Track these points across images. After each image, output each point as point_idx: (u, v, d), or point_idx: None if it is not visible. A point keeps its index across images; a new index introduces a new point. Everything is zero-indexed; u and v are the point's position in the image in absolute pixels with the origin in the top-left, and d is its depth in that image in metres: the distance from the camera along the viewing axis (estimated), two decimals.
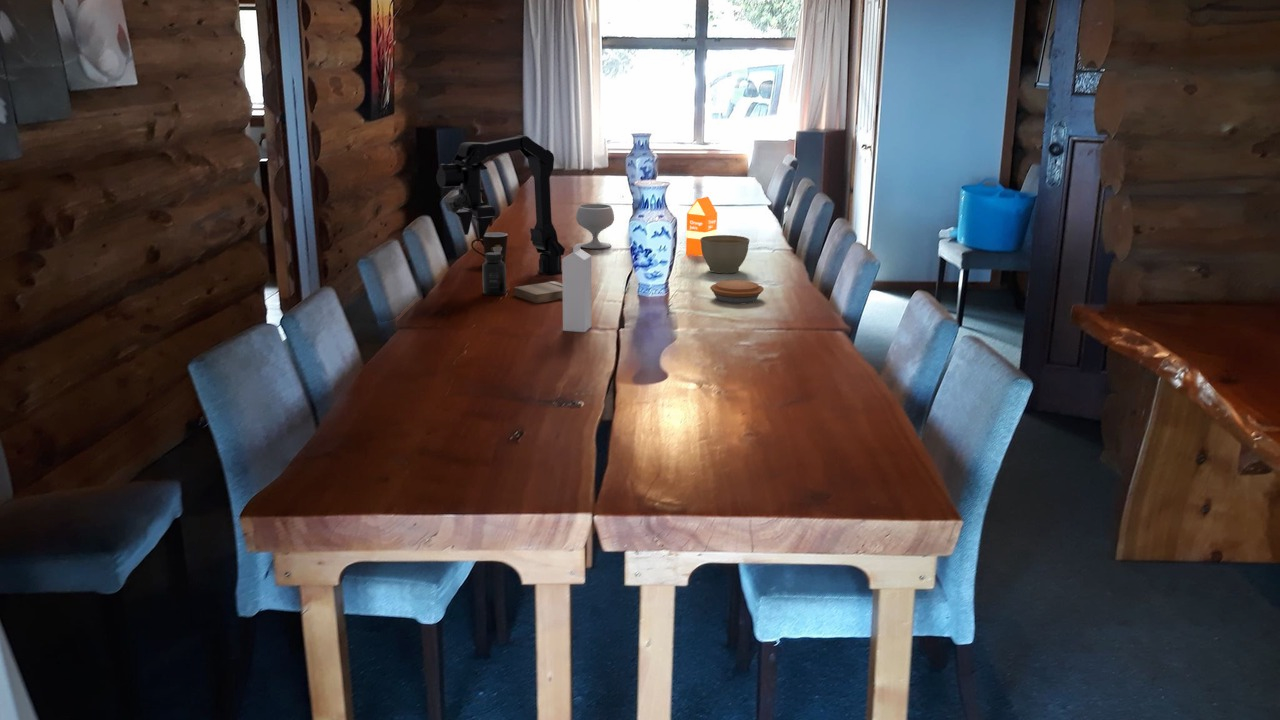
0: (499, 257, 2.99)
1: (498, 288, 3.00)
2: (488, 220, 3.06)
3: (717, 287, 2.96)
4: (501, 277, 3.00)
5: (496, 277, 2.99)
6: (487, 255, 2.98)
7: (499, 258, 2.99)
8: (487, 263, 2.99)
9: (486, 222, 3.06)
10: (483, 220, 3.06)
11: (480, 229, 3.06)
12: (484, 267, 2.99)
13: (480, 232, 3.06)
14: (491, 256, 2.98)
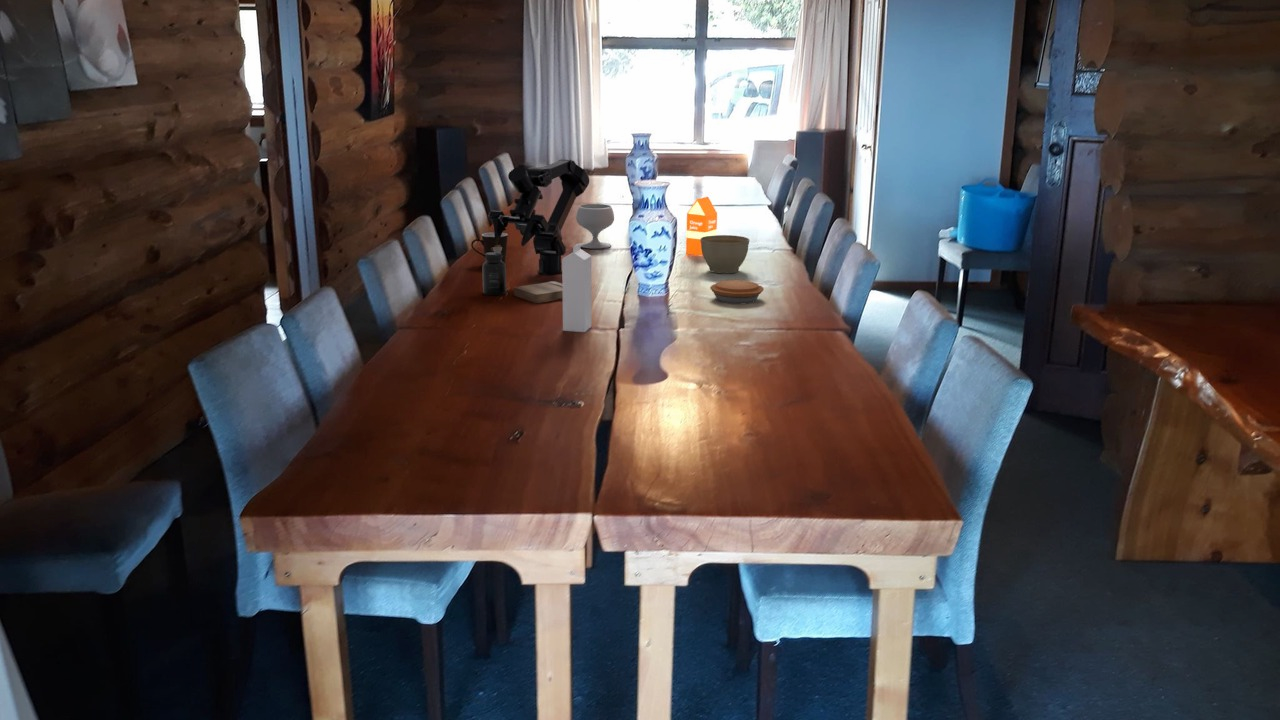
0: (499, 257, 2.99)
1: (498, 288, 3.00)
2: None
3: (717, 287, 2.96)
4: (501, 277, 3.00)
5: (496, 277, 2.99)
6: (487, 255, 2.98)
7: (499, 258, 2.99)
8: (487, 263, 2.99)
9: None
10: None
11: None
12: (484, 267, 2.99)
13: None
14: (491, 256, 2.98)
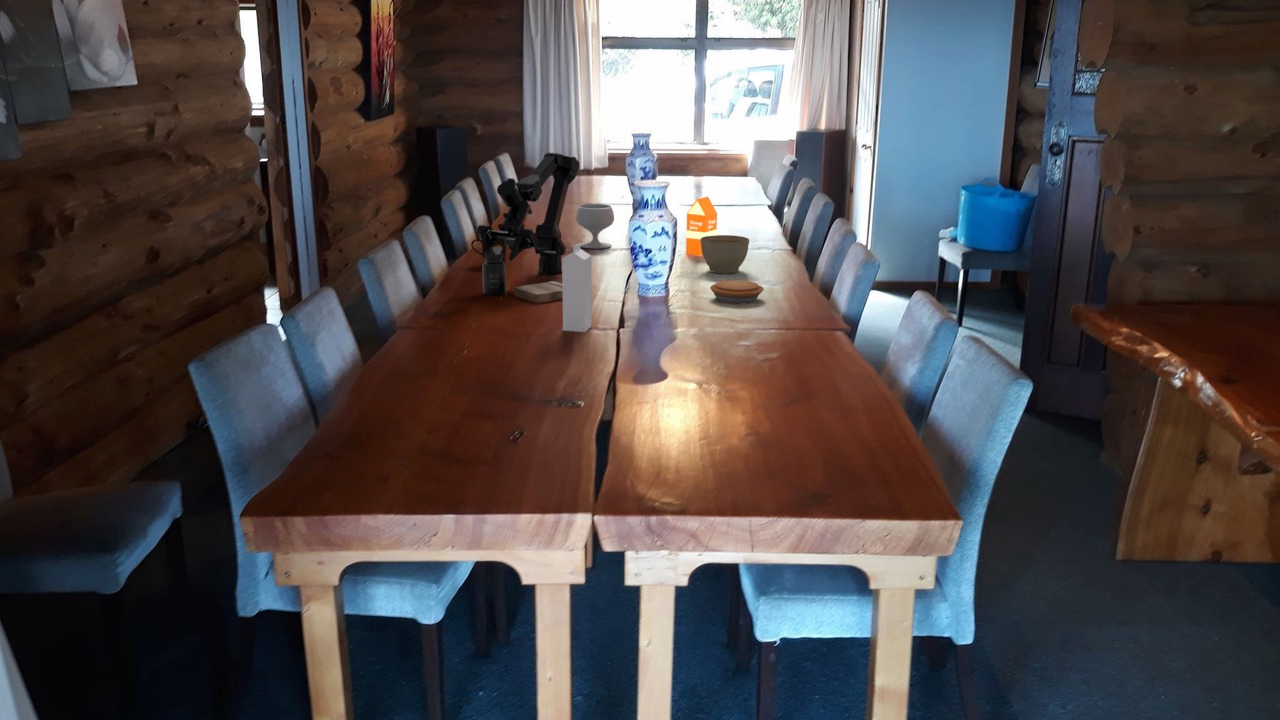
0: (499, 257, 2.99)
1: (498, 288, 3.00)
2: None
3: (717, 287, 2.96)
4: (501, 277, 3.00)
5: (496, 277, 2.99)
6: (487, 255, 2.98)
7: (499, 258, 2.99)
8: (487, 263, 2.99)
9: None
10: None
11: None
12: (484, 267, 2.99)
13: None
14: (491, 256, 2.98)
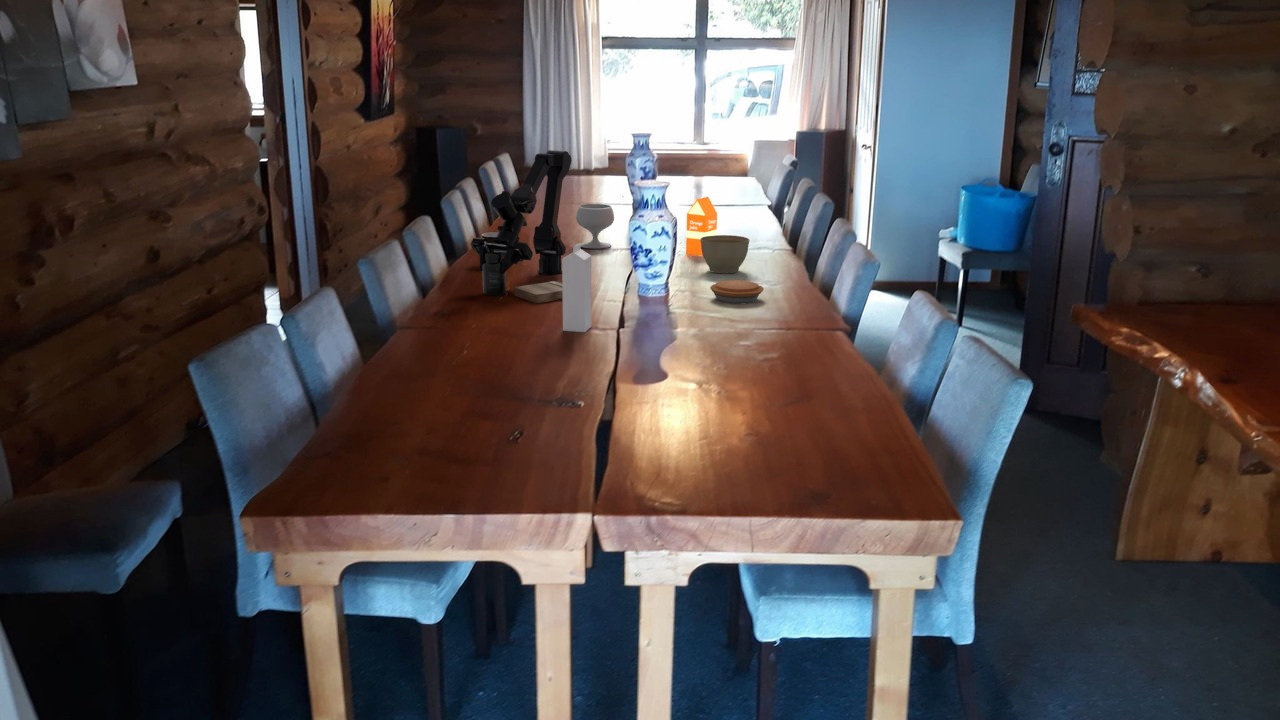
0: (499, 257, 2.99)
1: (498, 288, 3.00)
2: None
3: (717, 287, 2.96)
4: (501, 277, 3.00)
5: (496, 277, 2.99)
6: (487, 255, 2.98)
7: (499, 258, 2.99)
8: (487, 263, 2.99)
9: None
10: None
11: None
12: (484, 267, 2.99)
13: None
14: (491, 256, 2.98)
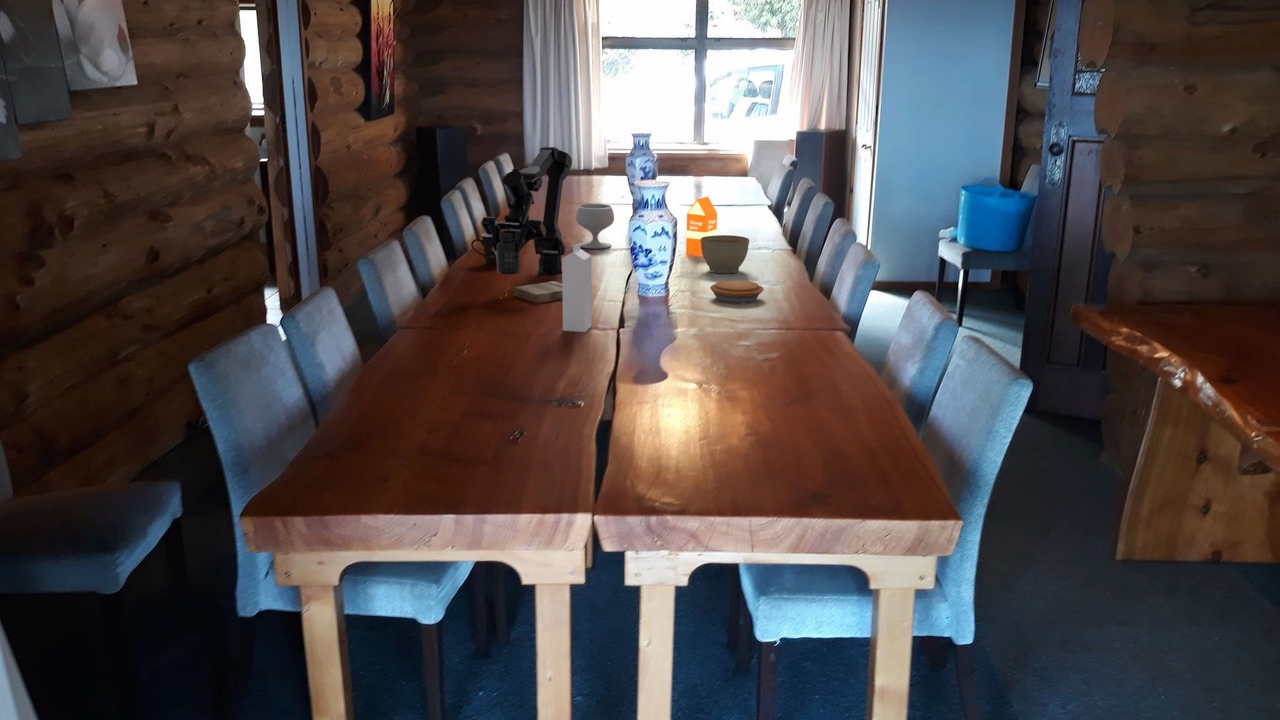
0: (514, 235, 2.96)
1: (513, 267, 2.97)
2: None
3: (717, 287, 2.96)
4: (516, 256, 2.97)
5: (511, 256, 2.96)
6: (502, 234, 2.95)
7: (514, 236, 2.96)
8: (502, 242, 2.95)
9: None
10: None
11: None
12: (499, 246, 2.95)
13: None
14: (506, 235, 2.95)
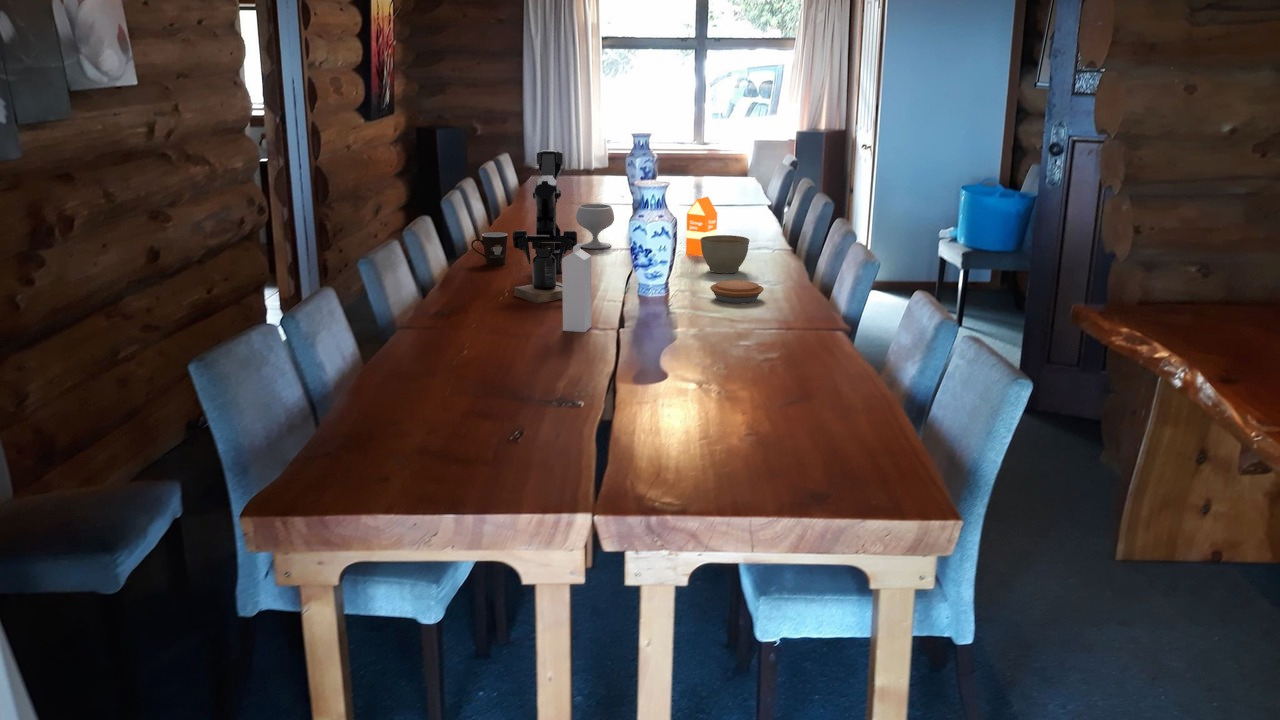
0: (551, 250, 2.97)
1: (553, 281, 2.97)
2: (523, 243, 2.97)
3: (717, 287, 2.96)
4: (555, 270, 2.98)
5: (551, 271, 2.96)
6: (541, 249, 2.94)
7: (551, 251, 2.96)
8: (541, 257, 2.95)
9: None
10: None
11: (526, 255, 2.98)
12: (539, 262, 2.94)
13: (527, 258, 2.97)
14: (545, 250, 2.95)
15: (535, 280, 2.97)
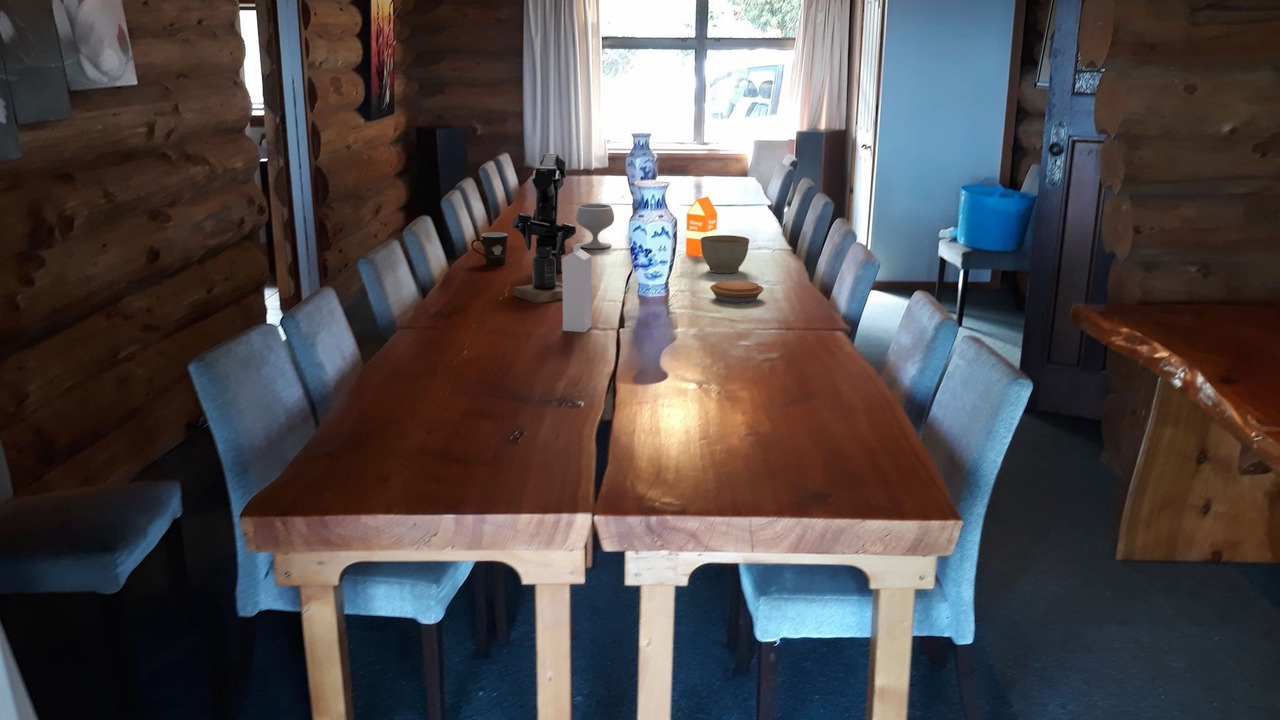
0: (551, 250, 2.97)
1: (553, 281, 2.97)
2: (526, 228, 3.04)
3: (717, 287, 2.96)
4: (555, 270, 2.98)
5: (551, 271, 2.96)
6: (540, 249, 2.94)
7: (551, 251, 2.97)
8: (541, 257, 2.95)
9: None
10: None
11: (525, 240, 3.06)
12: (539, 262, 2.95)
13: (526, 243, 3.05)
14: (545, 250, 2.95)
15: (535, 280, 2.97)
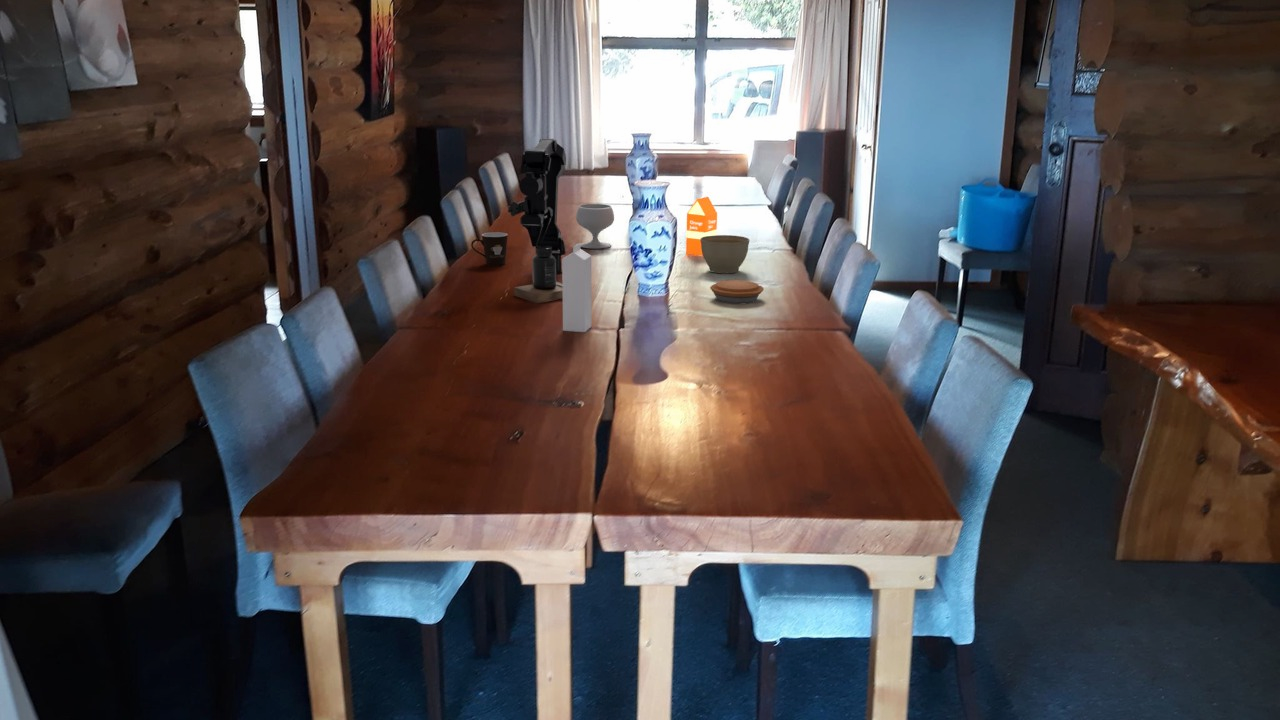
0: (551, 250, 2.97)
1: (553, 281, 2.97)
2: (538, 228, 3.02)
3: (717, 287, 2.96)
4: (555, 270, 2.98)
5: (551, 271, 2.96)
6: (541, 249, 2.94)
7: (551, 251, 2.97)
8: (541, 257, 2.95)
9: (536, 230, 3.03)
10: (534, 228, 3.03)
11: (531, 236, 3.04)
12: (539, 262, 2.95)
13: (531, 239, 3.04)
14: (545, 250, 2.95)
15: (535, 280, 2.97)
